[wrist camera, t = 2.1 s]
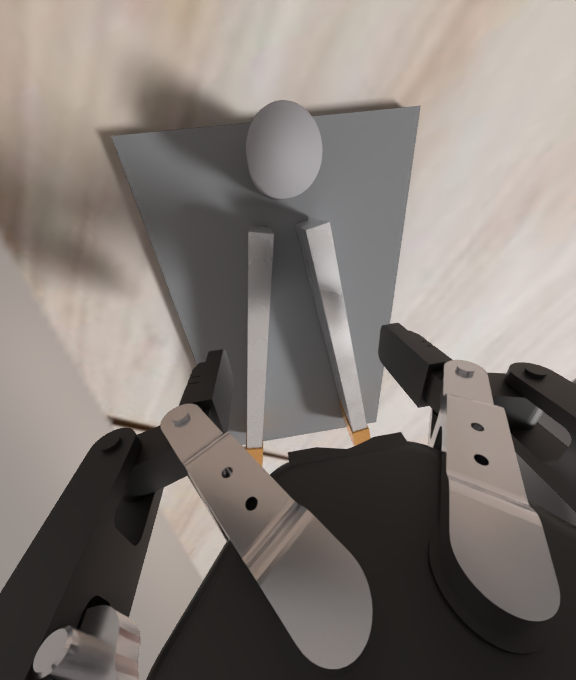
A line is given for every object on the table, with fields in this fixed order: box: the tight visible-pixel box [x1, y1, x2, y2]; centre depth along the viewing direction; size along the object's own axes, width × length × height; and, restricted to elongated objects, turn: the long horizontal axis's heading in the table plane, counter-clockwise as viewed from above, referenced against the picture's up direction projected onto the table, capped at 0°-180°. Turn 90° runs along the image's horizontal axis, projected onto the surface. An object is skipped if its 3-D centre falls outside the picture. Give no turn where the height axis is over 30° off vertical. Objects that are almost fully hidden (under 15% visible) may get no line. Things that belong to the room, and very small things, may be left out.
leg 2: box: [295, 218, 371, 446], centre depth 18 cm, size 19×1×4 cm, turn 17°
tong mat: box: [111, 100, 420, 445], centre depth 17 cm, size 25×16×6 cm, turn 6°
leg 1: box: [246, 226, 274, 466], centre depth 17 cm, size 19×1×4 cm, turn 175°
